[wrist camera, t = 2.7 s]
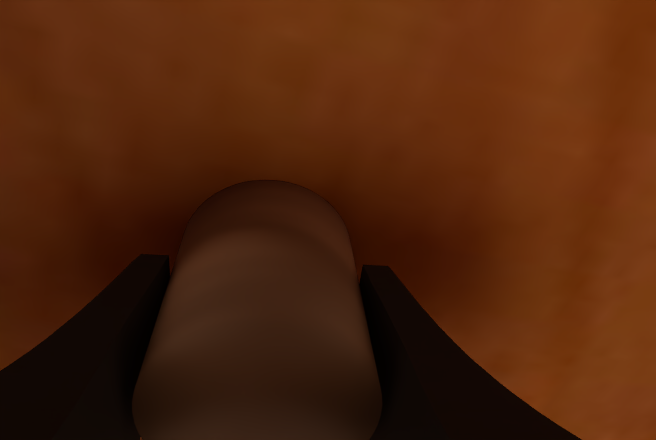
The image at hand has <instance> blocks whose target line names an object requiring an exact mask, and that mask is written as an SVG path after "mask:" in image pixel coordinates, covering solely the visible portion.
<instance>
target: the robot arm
mask: <svg viewBox="0 0 656 440" xmlns="http://www.w3.org/2000/svg"><path fill="white" fill-rule="evenodd" d="M169 279H170V268H169V256H168V255H148V254H141V255H140V256H138V257H137V258H136V259H135V260H134V261H133V262H132V263H131V264H130V265H129V266H128V267H127V268H126V269H125V270H124V271H123V272H121V273H120V274H119V275H118V276H117V277H116V278H115V279H114V280H113V281H112V282H111V283H110V284H109V285H108V286H107V287H106V288H105V289H104V290H103V291H102V292H101V293H99V294H98V295H97V296H96V297H95V298H94V299H93V300H92V301H91V302H90V303H88V304H87V305H86V306H85V307H84V308H83V309H82V310H81V311H79V312H78V313H77V314H76V315H75V316H74V317H72V318H71V319H70V320H69V321H67V322H66V323H65V324H64V325H63V326H61V327H60V328H59V329H58V330H56V331H55V332H54V333H53V334H52V335H50V336H49V337H48V338H47V339H45V340H44V341H43V342H41V343H40V344H39V345H37V346H36V347H35V348H33V349H32V350H30V351H29V352H28V353H26V354H25V355H23V356H22V357H20V358H19V359H17V360H16V361H14V362H13V363H12V364H10V365H9V366H7V367H6V368H4V369H2V370H1V371H0V440H140V437H141V436H140V435H139V433H138V430H137V428H136V426H135V423H134V418H133V414H132V399H133V393H134V389H135V385H136V382H137V379H138V376H139V373H140V370H141V367H142V364H143V360H144V357H145V354H146V351H147V348H148V345H149V342H150V338H151V335H152V332H153V329H154V326H155V323H156V320H157V316H158V313H159V310H160V307H161V304H162V301H163V298H164V295H165V291H166V288H167V285H168V282H169ZM359 286H360V291H361V295H362V300H363V305H364V310H365V315H366V320H367V325H368V329H369V334H370V339H371V344H372V349H373V354H374V359H375V363H376V368H377V373H378V378H379V383H380V388H381V393H382V411H381V416H380V419H379V422H378V425H377V427H376V429H375V431H374V433H373V435H372V436H371V438H370V440H581V439H580V438H578V437H577V436H575V435H573V434H572V433H570V432H569V431H567V430H565V429H564V428H562V427H560V426H559V425H557V424H556V423H554V422H553V421H551V420H550V419H548V418H547V417H545V416H544V415H542V414H541V413H539V412H538V411H537V410H535V409H534V408H532V407H531V406H530V405H528V404H527V403H526V402H524V401H523V400H522V399H520V398H519V397H517V396H516V395H515V394H513V393H512V392H511V391H509V390H508V389H507V388H506V387H504V386H503V385H502V384H500V383H499V382H498V381H497V380H496V379H494V378H493V377H492V376H491V375H490V374H489V373H487V372H486V371H485V370H484V369H483V368H481V367H480V366H479V365H478V364H477V363H476V362H475V361H473V360H472V359H471V358H470V357H469V356H468V355H467V354H466V353H465V352H464V351H463V350H462V349H461V348H460V347H459V346H458V345H457V344H456V343H455V342H454V341H453V340H452V339H451V338H450V337H449V336H448V335H447V334H446V333H445V332H444V331H443V330H442V329H441V328H440V327H439V326H438V325H437V324H436V323H435V321H434V320H433V319H432V318H431V317H430V316H429V315H428V314H427V312H426V311H425V310H424V309H423V308H422V307H421V306H420V304H419V303H418V302H417V301H416V300H415V298H414V297H413V296H412V295H411V293H410V292H409V291H408V290H407V289H406V287H405V286H404V285H403V284H402V282H401V281H400V280H399V279H398V277H397V276H396V275H395V274H394V273H393V271H392V270H391V269H390V268H389V267H388V266H376V265H363V267H362V273H361V279H360V284H359Z"/></svg>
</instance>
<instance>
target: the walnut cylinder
mask: <svg viewBox="0 0 656 440" xmlns="http://www.w3.org/2000/svg"><path fill="white" fill-rule="evenodd" d="M381 411H382V393H381V388H380V383H379V378H378V373H377V368H376V363H375V359H374V354H373V349H372V344H371V339H370V334H369V329H368V325H367V320H366V315H365V310H364V305H363V300H362V295H361V291H360V286H359V281H358V276H357V271H356V266H355V262H354V257H353V252H352V247H351V242H350V238H349V234H348V231H347V228H346V226H345V223H344V222H343V220H342V218H341V217H340V215H339V214H338V213H337V211H336V210H335V209H334V208H333V207H332V206H331V205H330V204H329V203H328V202H327V201H326V200H324V199H323V198H322V197H320V196H319V195H317V194H316V193H314V192H312V191H310V190H308V189H306V188H304V187H301V186H298V185H296V184H292V183H288V182H283V181H275V180H257V181H248V182H244V183H240V184H236V185H233V186H230V187H228V188H225V189H223V190H221V191H220V192H218V193H216V194H214V195H213V196H211V197H210V198H209V199H207V200H206V201H205V202H204V203H203V204H202V205H201V206H200V207H199V208H198V209H197V210H196V211H195V213H194V214H193V215H192V217H191V219H190V220H189V222H188V224H187V227H186V229H185V232H184V235H183V238H182V241H181V244H180V247H179V251H178V254H177V257H176V260H175V263H174V266H173V269H172V273H171V276H170V279H169V282H168V285H167V288H166V291H165V295H164V298H163V301H162V304H161V307H160V310H159V313H158V316H157V320H156V323H155V326H154V329H153V332H152V335H151V338H150V342H149V345H148V348H147V351H146V354H145V357H144V360H143V364H142V367H141V370H140V373H139V376H138V379H137V382H136V385H135V389H134V393H133V399H132V414H133V418H134V423H135V426H136V428H137V430H138V433H139V435H140V436H141V438H142V439H143V440H369V439H370V438H371V436H372V435H373V433H374V431H375V429H376V427H377V425H378V422H379V419H380V416H381Z"/></svg>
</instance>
